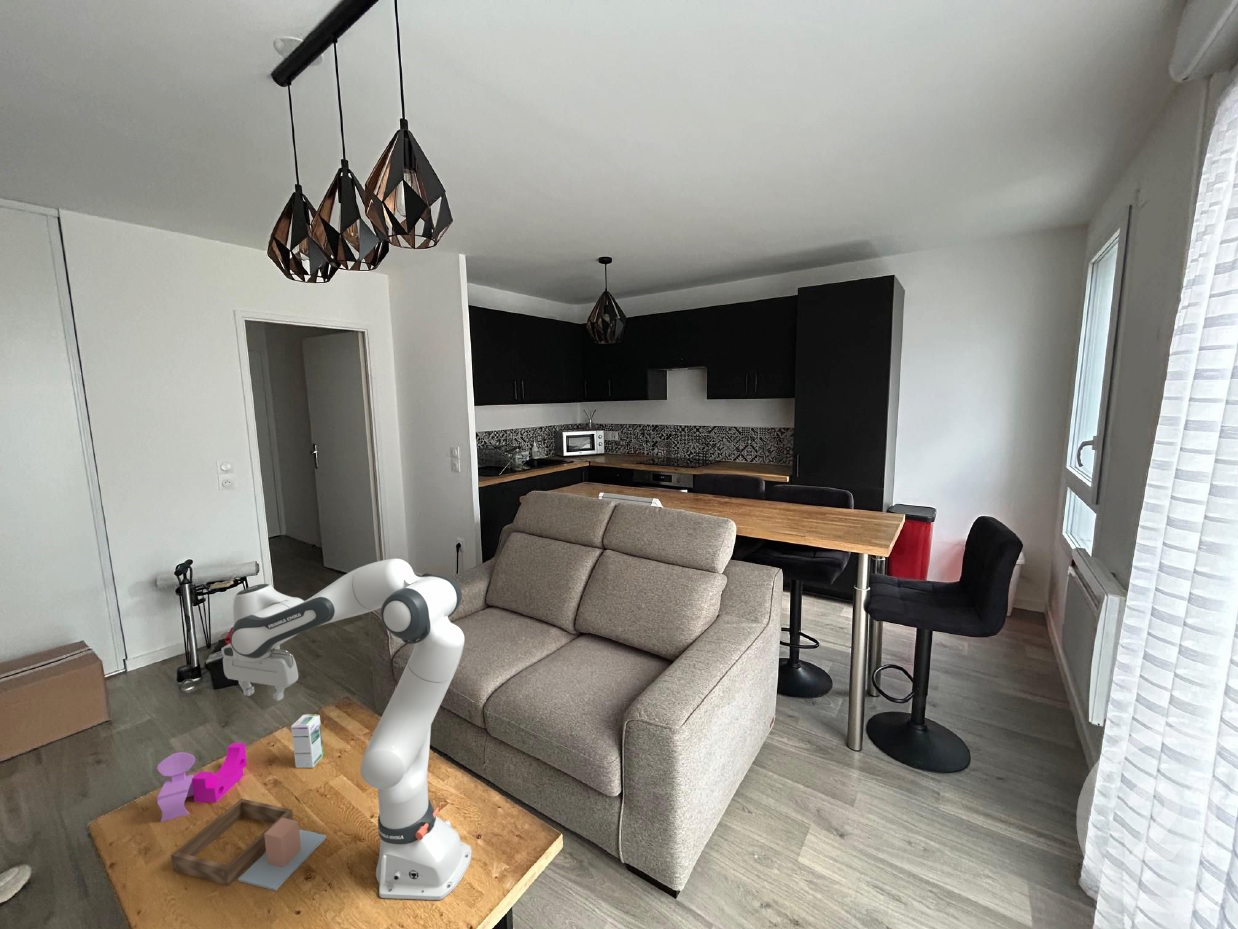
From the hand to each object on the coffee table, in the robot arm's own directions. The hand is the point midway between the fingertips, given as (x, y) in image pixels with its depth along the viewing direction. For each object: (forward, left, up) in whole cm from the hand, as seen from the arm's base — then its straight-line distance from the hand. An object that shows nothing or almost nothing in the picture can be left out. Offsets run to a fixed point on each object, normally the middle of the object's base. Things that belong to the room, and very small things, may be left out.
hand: (263, 696), depth 132 cm
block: (-11, +8, -36) cm, 39 cm away
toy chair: (+32, +2, -37) cm, 49 cm away
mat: (-11, +8, -37) cm, 40 cm away
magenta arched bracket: (+28, -9, -37) cm, 48 cm away
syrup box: (+11, -22, -37) cm, 45 cm away
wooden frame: (+4, +8, -37) cm, 38 cm away
